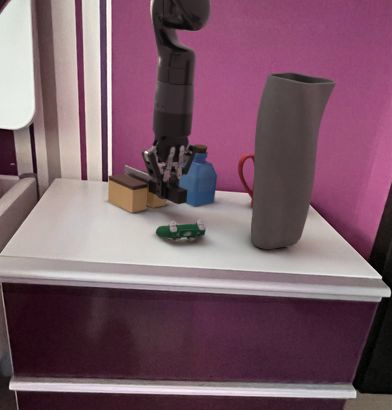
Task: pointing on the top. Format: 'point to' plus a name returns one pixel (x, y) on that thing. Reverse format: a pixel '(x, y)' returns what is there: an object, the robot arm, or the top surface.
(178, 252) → the top surface
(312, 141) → the vase
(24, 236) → the top surface
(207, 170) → the perfume bottle
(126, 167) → the knife
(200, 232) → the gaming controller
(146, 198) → the cake
